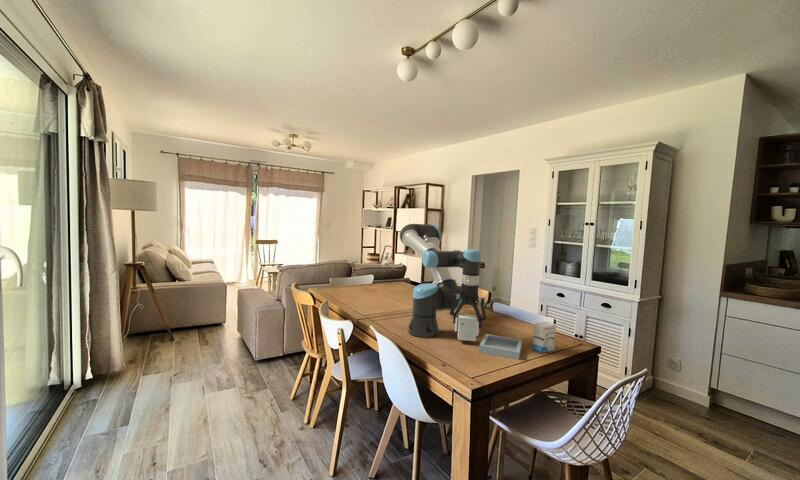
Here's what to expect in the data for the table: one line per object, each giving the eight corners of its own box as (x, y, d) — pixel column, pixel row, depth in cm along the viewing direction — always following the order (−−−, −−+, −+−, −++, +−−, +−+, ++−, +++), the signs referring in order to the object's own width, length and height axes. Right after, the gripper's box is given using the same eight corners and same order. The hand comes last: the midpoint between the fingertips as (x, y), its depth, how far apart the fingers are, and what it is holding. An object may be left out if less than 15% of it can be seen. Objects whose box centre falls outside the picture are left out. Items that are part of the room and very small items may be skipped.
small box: (474, 337, 156) (476, 314, 155) (475, 341, 150) (477, 318, 149) (457, 335, 157) (458, 313, 156) (457, 339, 151) (459, 317, 150)
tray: (479, 351, 143) (479, 345, 143) (485, 340, 158) (486, 333, 157) (518, 359, 137) (519, 352, 136) (521, 346, 151) (522, 340, 151)
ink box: (541, 353, 144) (543, 326, 144) (532, 349, 149) (534, 323, 148) (555, 350, 148) (557, 324, 148) (545, 346, 153) (547, 321, 152)
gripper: (444, 282, 152) (441, 330, 154) (493, 288, 144) (489, 340, 146) (448, 279, 159) (445, 325, 161) (496, 285, 150) (492, 334, 152)
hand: (466, 332), depth 153 cm, fingers closed on small box, 9 cm apart
